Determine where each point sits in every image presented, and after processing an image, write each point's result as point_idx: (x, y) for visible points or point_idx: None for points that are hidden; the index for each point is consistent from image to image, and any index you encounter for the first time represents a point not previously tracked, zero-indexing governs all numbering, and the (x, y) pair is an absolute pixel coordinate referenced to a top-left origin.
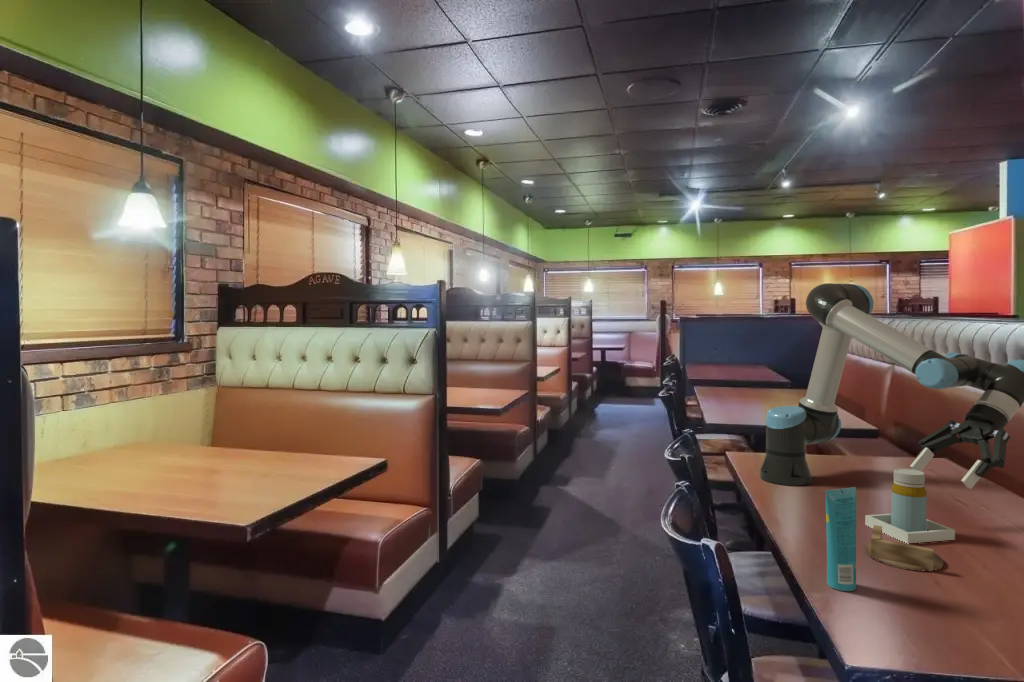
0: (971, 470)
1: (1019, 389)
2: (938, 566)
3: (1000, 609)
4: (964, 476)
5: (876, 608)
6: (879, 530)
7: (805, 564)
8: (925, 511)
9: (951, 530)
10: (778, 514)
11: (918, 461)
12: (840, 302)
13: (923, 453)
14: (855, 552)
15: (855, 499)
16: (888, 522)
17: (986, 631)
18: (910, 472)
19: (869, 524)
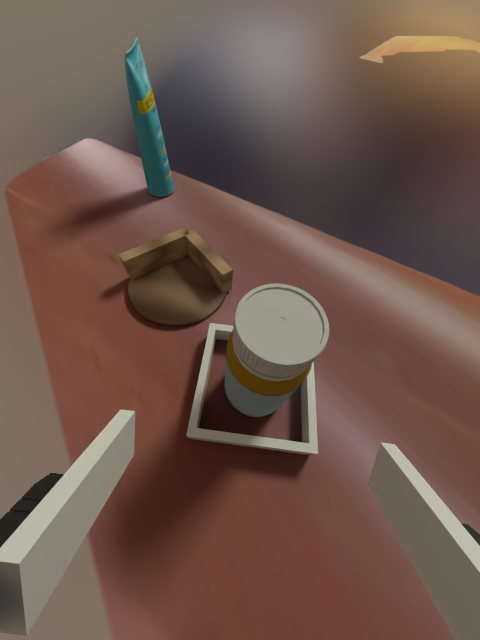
0: (84, 461)
1: None
2: (128, 285)
3: (36, 257)
4: (121, 427)
5: (118, 184)
6: (211, 259)
7: (212, 196)
8: (227, 379)
9: (188, 425)
10: (370, 267)
11: (405, 484)
12: None
13: (455, 540)
14: (140, 153)
15: (126, 74)
16: (302, 388)
17: (35, 214)
18: (277, 321)
19: None
